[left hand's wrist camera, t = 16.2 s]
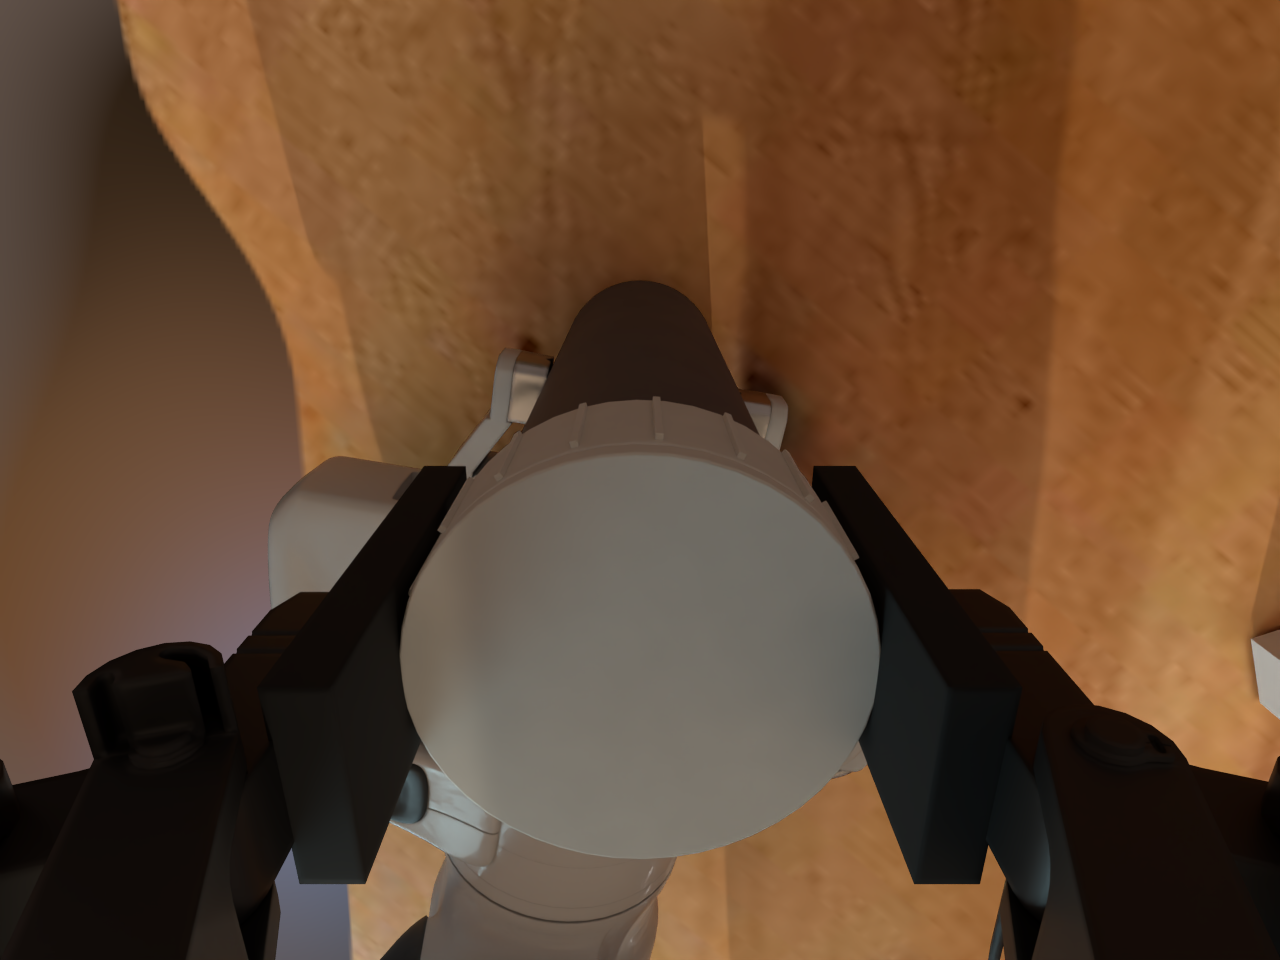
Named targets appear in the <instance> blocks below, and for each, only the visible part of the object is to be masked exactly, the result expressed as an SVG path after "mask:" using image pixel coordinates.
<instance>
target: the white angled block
mask: <svg viewBox="0 0 1280 960" xmlns="http://www.w3.org/2000/svg"><path fill="white" fill-rule="evenodd" d="M1251 644H1252V651H1253V658H1254V665H1255V672H1256V679H1257V685H1258V692H1259V699H1260V703H1261V704H1262V705H1263V706H1264V707H1266V708H1267V709H1268V710H1269V711H1270V712H1272V713H1273V714H1274V715H1275V716H1276V717H1277V718H1279V719H1280V630H1277V631H1273V632H1270V633H1267V634H1264V635H1261V636H1258V637H1254V638H1251Z"/></svg>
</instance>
